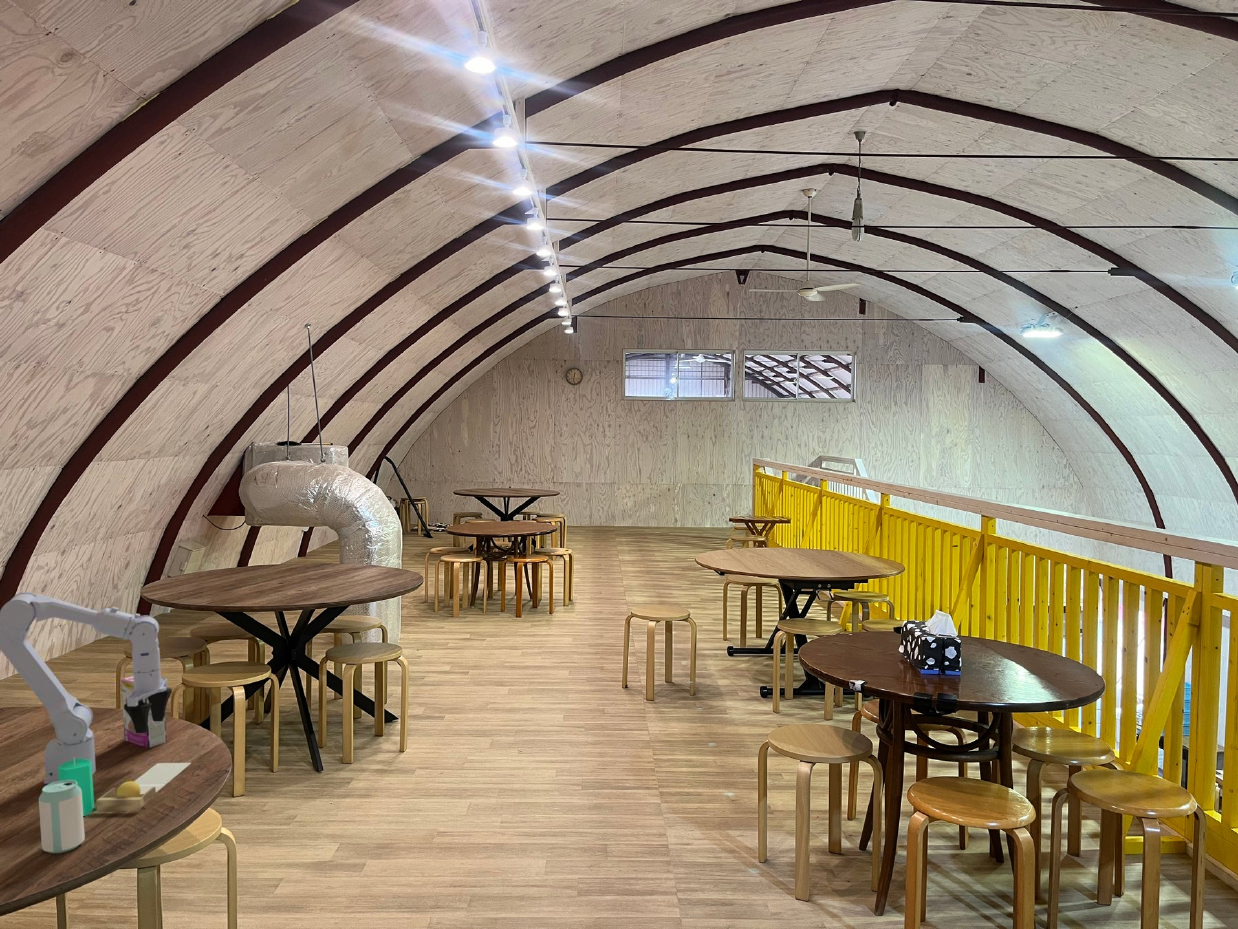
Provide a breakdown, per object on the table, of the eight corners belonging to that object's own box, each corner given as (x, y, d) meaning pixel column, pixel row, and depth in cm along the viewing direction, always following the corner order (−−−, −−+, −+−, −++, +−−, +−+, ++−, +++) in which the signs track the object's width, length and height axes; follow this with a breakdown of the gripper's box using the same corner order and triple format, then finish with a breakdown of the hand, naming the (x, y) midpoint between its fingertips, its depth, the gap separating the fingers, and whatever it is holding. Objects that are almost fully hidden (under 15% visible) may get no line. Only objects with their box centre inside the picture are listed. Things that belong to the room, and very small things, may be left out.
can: (50, 840, 181) (46, 780, 180) (89, 835, 182) (86, 776, 181) (36, 857, 174) (32, 795, 173) (77, 852, 175) (73, 791, 175)
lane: (103, 809, 194) (102, 805, 194) (157, 766, 217) (157, 763, 216) (141, 808, 194) (140, 805, 194) (191, 766, 216) (191, 762, 216)
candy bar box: (123, 743, 232) (119, 679, 231) (142, 737, 236) (138, 673, 235) (148, 751, 226) (144, 685, 225) (168, 745, 230) (164, 680, 229)
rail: (97, 812, 193) (96, 800, 193) (113, 799, 199) (112, 787, 199) (140, 811, 193) (140, 799, 193) (156, 798, 199) (155, 787, 199)
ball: (113, 808, 195) (110, 788, 194) (125, 796, 199) (122, 777, 198) (134, 807, 195) (132, 788, 194) (145, 796, 199) (143, 777, 198)
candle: (70, 822, 189) (66, 764, 188) (55, 815, 192) (51, 759, 191) (100, 810, 194) (96, 754, 193) (84, 804, 197) (81, 749, 196)
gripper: (147, 678, 208) (151, 737, 209) (179, 660, 223) (182, 715, 224) (116, 679, 208) (120, 738, 209) (149, 660, 223) (153, 716, 224)
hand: (150, 726), depth 216 cm, fingers open, 7 cm apart
